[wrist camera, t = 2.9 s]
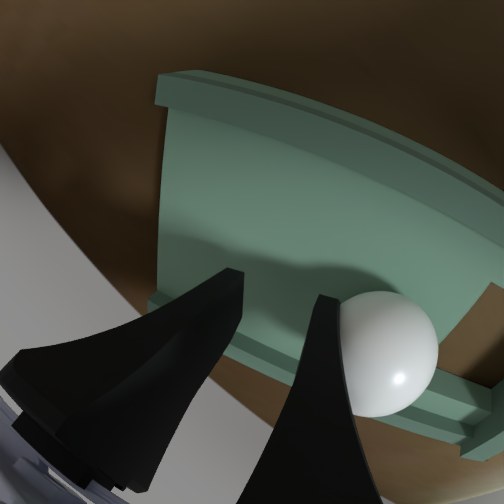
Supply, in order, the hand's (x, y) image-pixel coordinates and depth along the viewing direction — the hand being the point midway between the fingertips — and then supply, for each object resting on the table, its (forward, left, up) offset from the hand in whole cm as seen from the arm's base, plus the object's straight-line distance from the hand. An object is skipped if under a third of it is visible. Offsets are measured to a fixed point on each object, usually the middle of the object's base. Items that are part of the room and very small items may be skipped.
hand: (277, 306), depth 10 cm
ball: (-4, 0, 0) cm, 4 cm away
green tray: (-4, 0, -3) cm, 5 cm away
